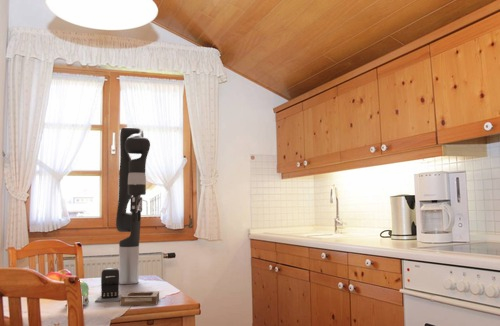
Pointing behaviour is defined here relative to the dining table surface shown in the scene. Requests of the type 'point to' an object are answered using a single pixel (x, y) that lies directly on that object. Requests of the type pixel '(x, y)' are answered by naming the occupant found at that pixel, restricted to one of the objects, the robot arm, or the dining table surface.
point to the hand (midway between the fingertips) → (136, 221)
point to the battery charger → (110, 283)
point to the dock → (140, 298)
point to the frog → (84, 292)
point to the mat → (109, 299)
